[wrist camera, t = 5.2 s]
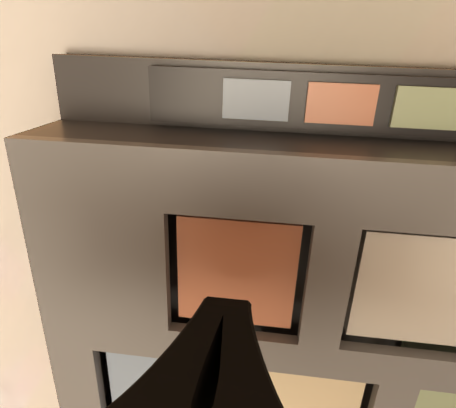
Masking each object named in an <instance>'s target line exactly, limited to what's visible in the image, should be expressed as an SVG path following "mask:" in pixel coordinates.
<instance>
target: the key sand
mask: <svg viewBox="0 0 456 408" xmlns="http://www.w3.org/2000/svg"><path fill="white" fill-rule="evenodd" d="M269 375H270V377H271V380H272V382H273V385H274V387H275V389H276V392H277V394H278V396H279V398H280V401H281V403H282V405H283V407H284V408H360V406H361V402H362V398H363V394H364V389H365V385H366V383H360V382H352V381H344V380H335V379H327V378H319V377H310V376H302V375H293V374H285V373H277V372H269Z"/></svg>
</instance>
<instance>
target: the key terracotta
mask: <svg viewBox="0 0 456 408" xmlns="http://www.w3.org/2000/svg"><path fill="white" fill-rule="evenodd" d="M176 228H177V269H178V310H179V317H186V318H192V316H193V315H194V313H195V312H196V311H197V309H198V308H199V306H200V304H201V303H202V301H203V299H205V298H206V297H207V296H209V297H219V298H229V299H239V300H248V301H249V302H250V303H251V304H252V305H251V310H252V318H253V324H254V325H261V326H270V327H279V328H289V329H290V327H291V319H292V311H293V304H294V296H295V288H296V280H297V272H298V264H299V256H300V248H301V240H302V232H303V225H300V224H288V223H275V222H263V221H251V220H238V219H226V218H213V217H201V216H188V215H177V216H176Z"/></svg>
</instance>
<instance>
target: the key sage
mask: <svg viewBox="0 0 456 408" xmlns="http://www.w3.org/2000/svg"><path fill="white" fill-rule="evenodd" d="M401 347H407V348H416V349H425V350H434V351H443V352H452V353H456V346H446V345H437V344H428V343H418V342H409V341H402V343H401ZM415 408H456V394H453V393H444V392H436V391H428V390H420V392H419V395H418V398H417V401H416V405H415Z"/></svg>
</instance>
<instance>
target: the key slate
mask: <svg viewBox="0 0 456 408" xmlns="http://www.w3.org/2000/svg"><path fill="white" fill-rule="evenodd" d="M106 358H107V366H108V374H109V381H110V389H111V397H112V402H113V401H114V400H116V399H117V398H118V397H119V396H120V395H122V394H123V393H124V392H125V391H126V390H127V389H128V388H129V387H130V386H131V385H132V384H133V383H135V382H136V381H137V380H138V379H139V378H140V377H141V376H142V375H143V374H144V373H145V372H146V371H147V370H148V369H149V368H150V367H151V366H152V364H153V363H154V362H155V361H156V360H157V359H158V358H151V357H142V356H134V355H125V354H117V353H109V352H106Z"/></svg>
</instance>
